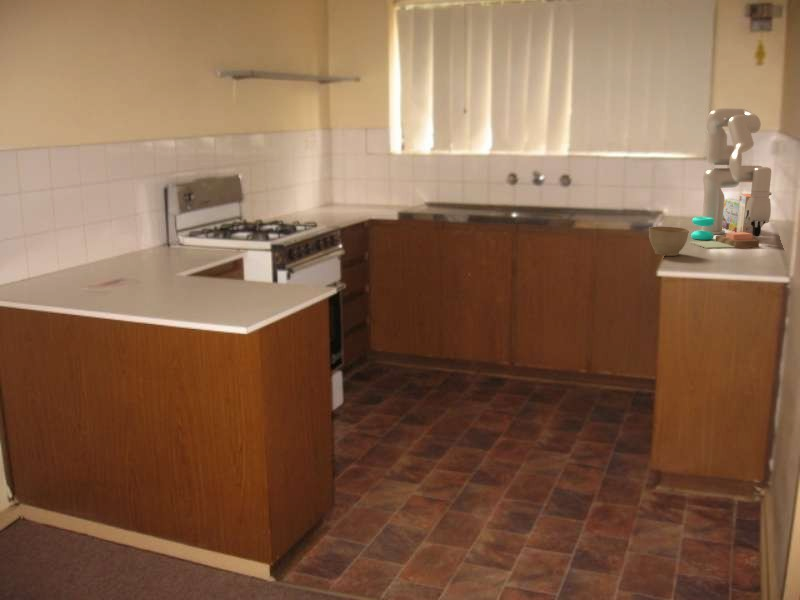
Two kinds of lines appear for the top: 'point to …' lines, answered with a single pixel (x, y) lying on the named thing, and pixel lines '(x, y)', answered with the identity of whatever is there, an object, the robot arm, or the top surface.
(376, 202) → the top surface
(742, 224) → the cracker box
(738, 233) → the coral block
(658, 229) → the planter bowl
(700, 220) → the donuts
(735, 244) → the board
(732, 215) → the snack box
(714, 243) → the sage mat
